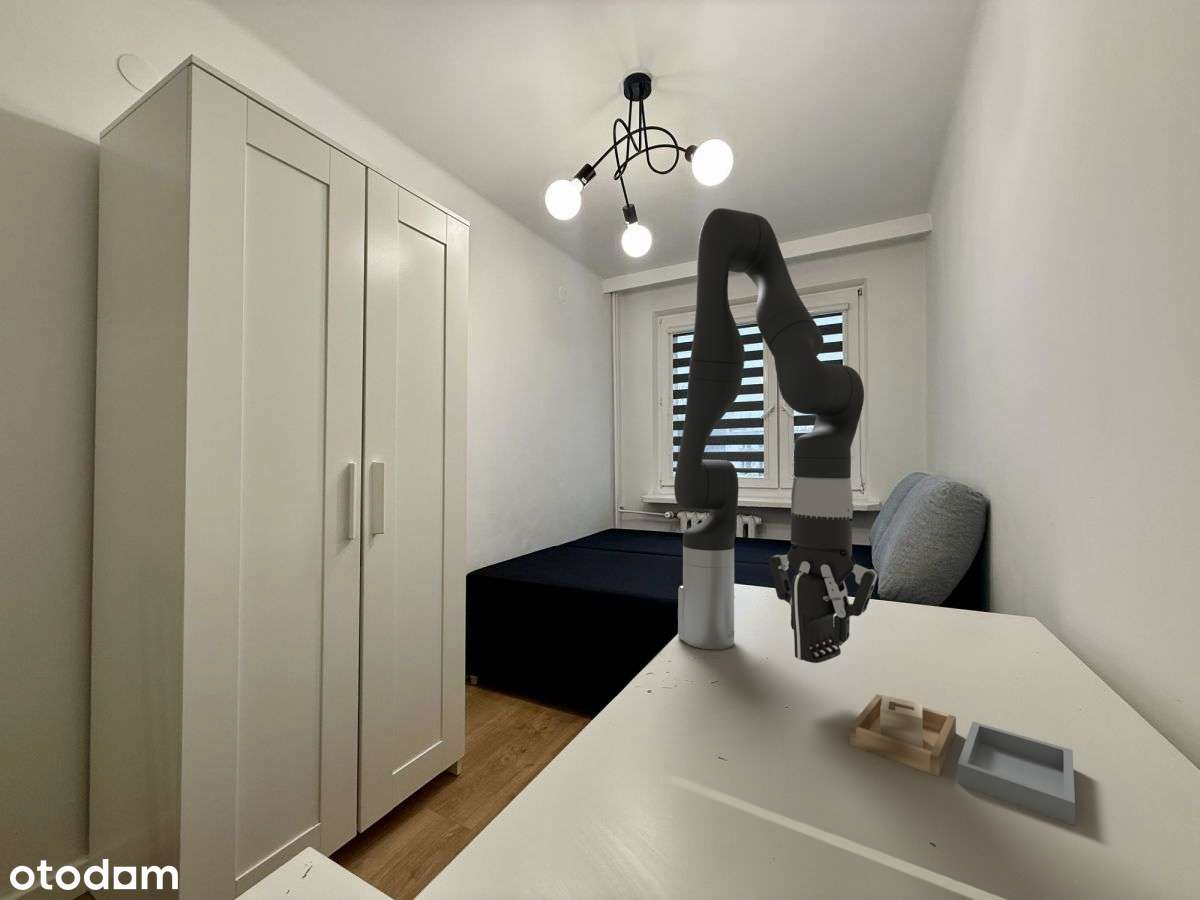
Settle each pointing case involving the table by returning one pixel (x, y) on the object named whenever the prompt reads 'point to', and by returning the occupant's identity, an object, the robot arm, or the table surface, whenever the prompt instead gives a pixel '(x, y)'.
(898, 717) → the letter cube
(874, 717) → the oak tray
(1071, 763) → the slate tray
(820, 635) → the black battery charger
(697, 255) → the robot arm
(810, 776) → the table surface
